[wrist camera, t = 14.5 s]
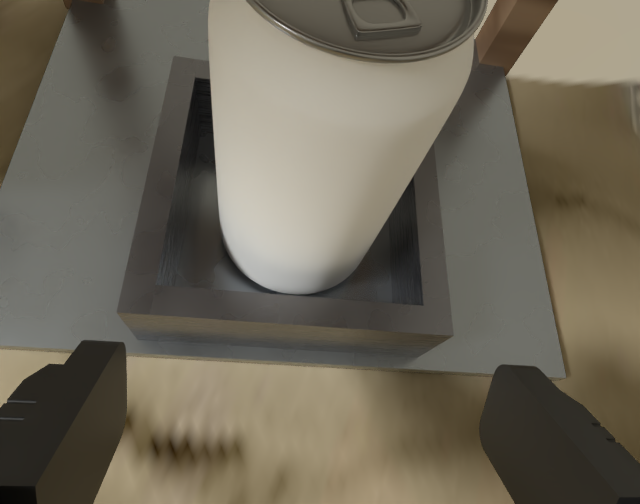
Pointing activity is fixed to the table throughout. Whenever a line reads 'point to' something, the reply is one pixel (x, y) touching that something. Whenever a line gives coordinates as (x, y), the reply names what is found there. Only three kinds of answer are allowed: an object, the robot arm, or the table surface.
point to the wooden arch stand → (497, 29)
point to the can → (326, 123)
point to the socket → (205, 234)
